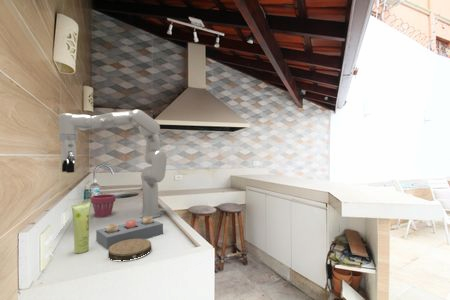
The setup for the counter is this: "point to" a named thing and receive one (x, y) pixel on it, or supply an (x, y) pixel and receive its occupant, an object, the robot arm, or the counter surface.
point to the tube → (81, 226)
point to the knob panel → (129, 233)
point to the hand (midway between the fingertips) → (68, 172)
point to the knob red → (130, 224)
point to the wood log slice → (129, 249)
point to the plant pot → (103, 204)
